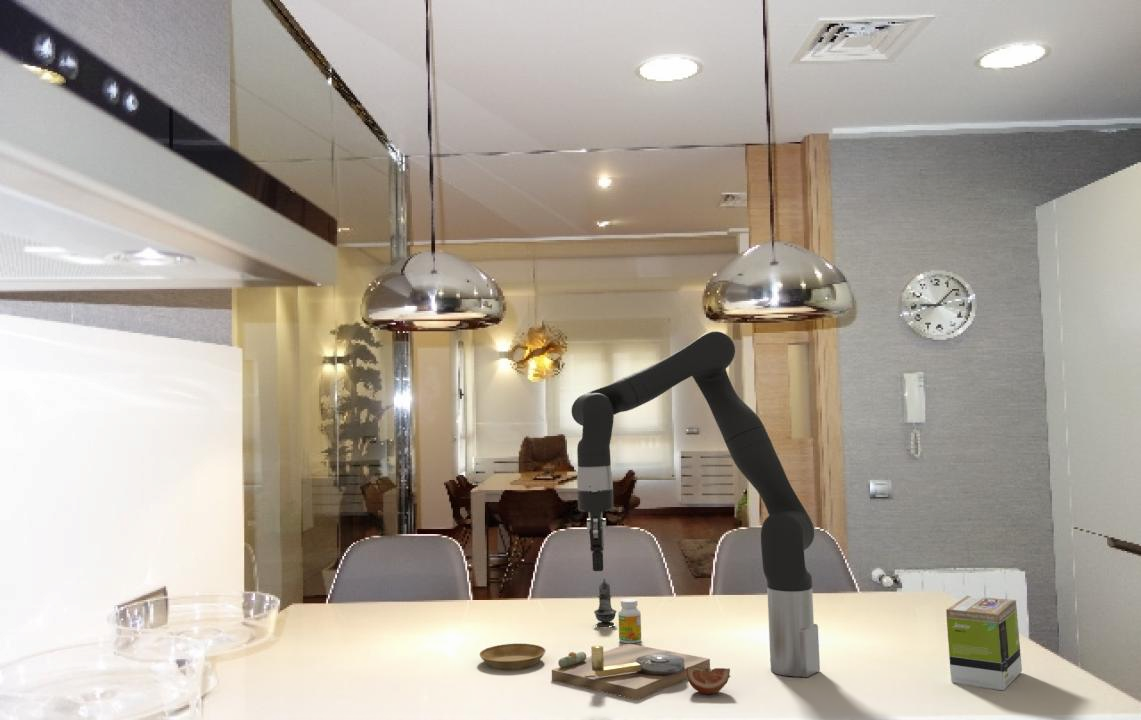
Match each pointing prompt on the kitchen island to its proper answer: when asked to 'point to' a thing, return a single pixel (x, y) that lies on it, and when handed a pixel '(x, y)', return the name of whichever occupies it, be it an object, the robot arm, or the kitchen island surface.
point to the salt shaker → (605, 606)
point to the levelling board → (627, 684)
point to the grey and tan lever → (638, 664)
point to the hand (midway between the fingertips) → (598, 570)
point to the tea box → (984, 642)
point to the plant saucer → (512, 655)
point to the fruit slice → (707, 679)
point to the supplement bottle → (629, 621)
